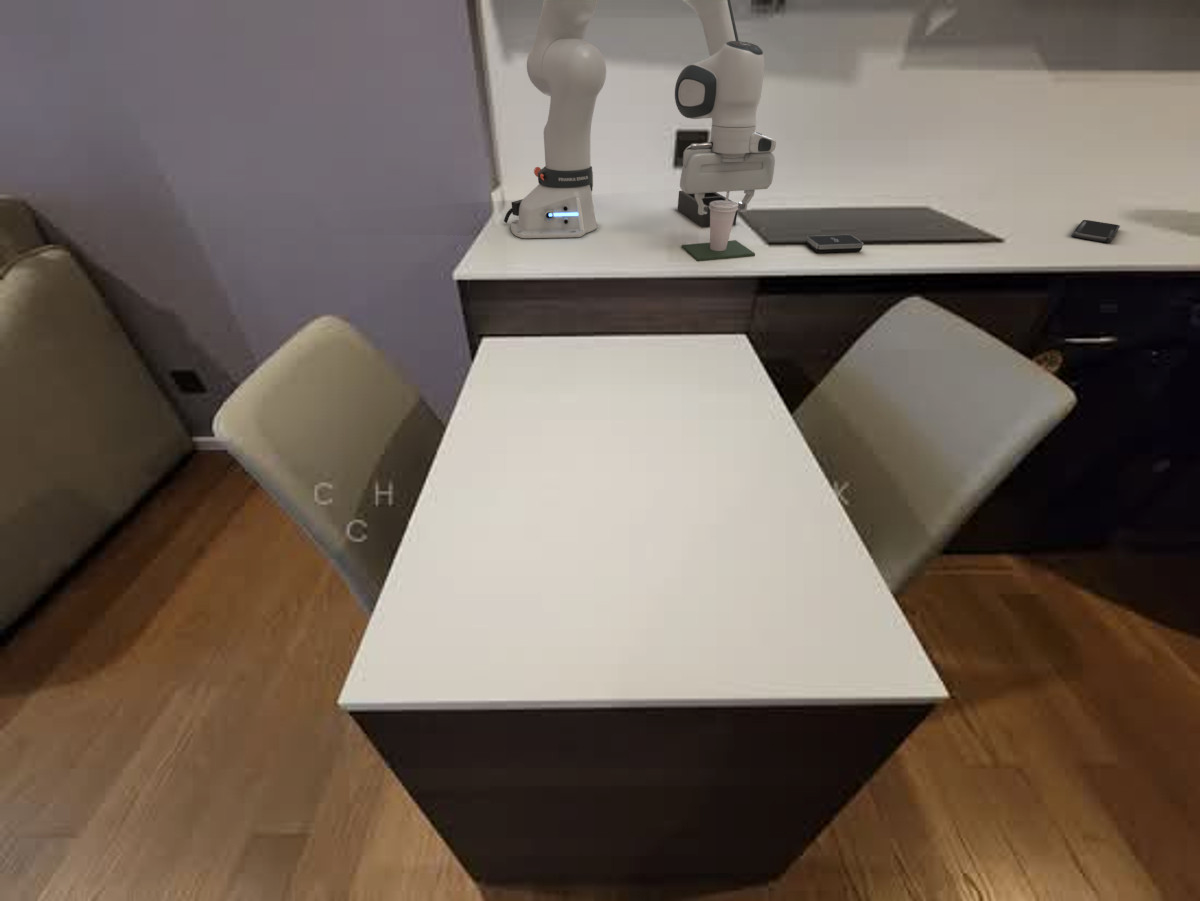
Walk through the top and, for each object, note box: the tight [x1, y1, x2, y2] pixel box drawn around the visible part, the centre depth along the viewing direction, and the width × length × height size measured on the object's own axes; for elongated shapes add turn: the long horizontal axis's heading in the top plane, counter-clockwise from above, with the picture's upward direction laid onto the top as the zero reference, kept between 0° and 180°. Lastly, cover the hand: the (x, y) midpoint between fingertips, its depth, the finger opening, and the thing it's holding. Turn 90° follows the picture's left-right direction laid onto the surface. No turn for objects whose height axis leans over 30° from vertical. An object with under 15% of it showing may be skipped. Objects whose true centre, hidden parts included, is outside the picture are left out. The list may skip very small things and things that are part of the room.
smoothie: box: [709, 191, 738, 251], centre depth 118 cm, size 6×6×14 cm
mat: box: [680, 239, 756, 262], centre depth 122 cm, size 14×10×1 cm
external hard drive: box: [805, 234, 864, 254], centre depth 123 cm, size 7×11×2 cm, turn 95°
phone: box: [1071, 219, 1121, 244], centre depth 131 cm, size 8×1×15 cm
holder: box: [677, 190, 739, 228], centre depth 143 cm, size 18×10×5 cm, turn 14°
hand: (722, 212), depth 117 cm, fingers open, 8 cm apart
